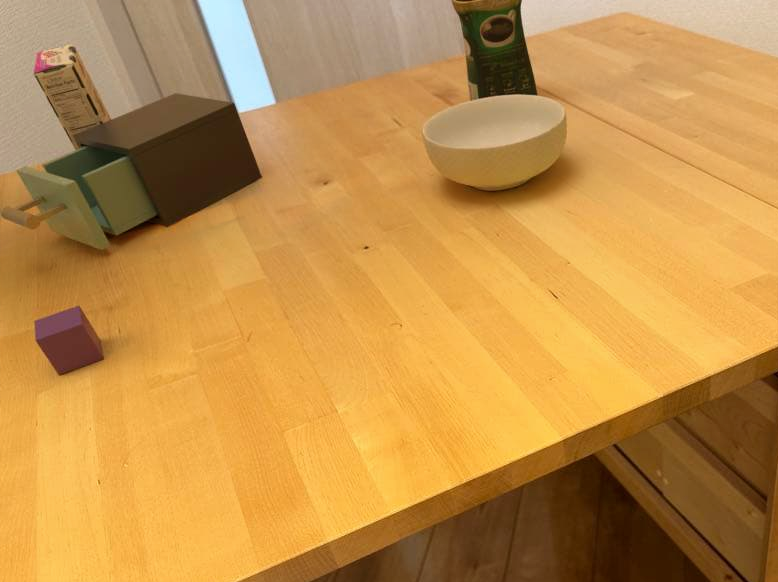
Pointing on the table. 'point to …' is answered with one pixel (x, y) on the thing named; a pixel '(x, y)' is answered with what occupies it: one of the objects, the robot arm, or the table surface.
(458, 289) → the table surface
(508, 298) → the table surface
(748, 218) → the table surface
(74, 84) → the candy bar box
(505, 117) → the cereal bowl
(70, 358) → the maroon wooden cube
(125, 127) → the brown drawer cabinet
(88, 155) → the light green drawer
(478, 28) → the green coffee bag
